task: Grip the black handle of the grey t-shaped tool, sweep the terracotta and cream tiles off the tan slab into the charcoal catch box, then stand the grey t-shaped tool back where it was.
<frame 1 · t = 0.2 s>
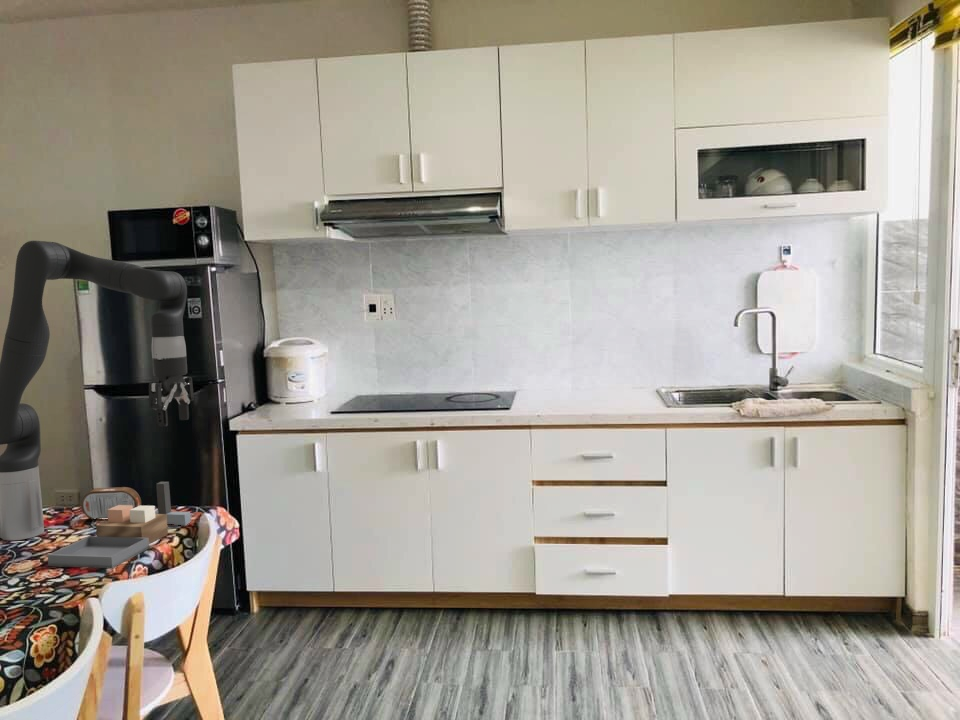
hand: (173, 422, 178), 28 cm above the table, tool pointing down, fingers open, 8 cm apart
grey t-shaped tool: (165, 524, 194), on the table
tin: (112, 519, 201), on the table
tan slab: (133, 539, 181), on the table
tile b: (143, 520, 180), point 5 cm above the table, touching tan slab
catch box: (100, 556, 170), on the table
tile a: (121, 519, 182), point 5 cm above the table, touching tan slab
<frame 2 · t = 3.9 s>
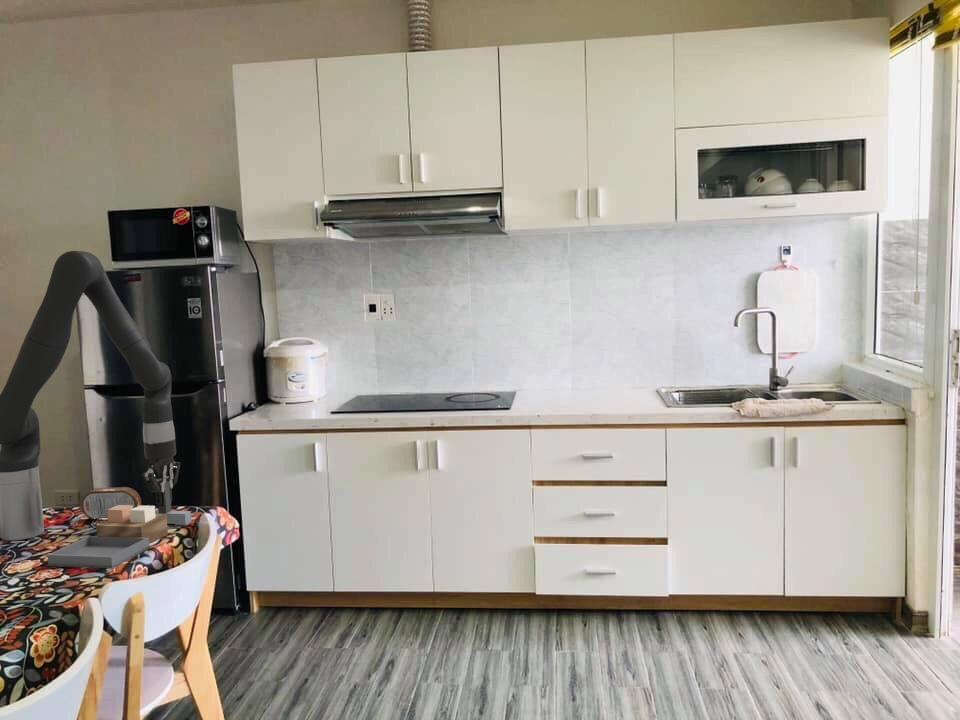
hand: (164, 504, 194), 5 cm above the table, tool pointing down, fingers closed on grey t-shaped tool, 2 cm apart
grey t-shaped tool: (165, 523, 194), on the table, touching gripper
everything else where it was.
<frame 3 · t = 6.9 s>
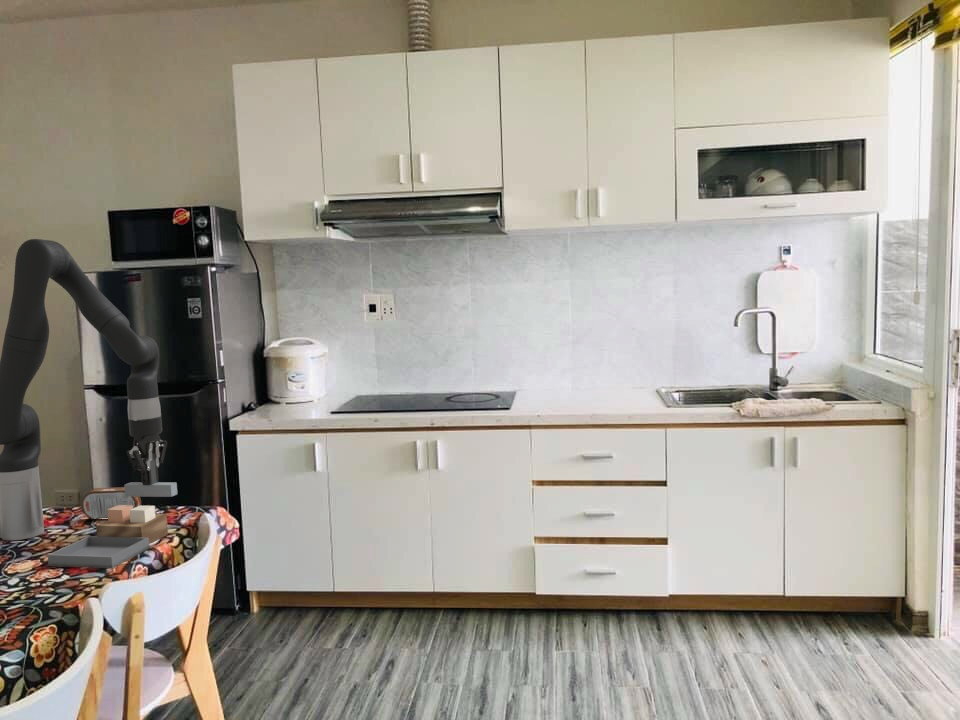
hand: (150, 483, 188), 12 cm above the table, tool pointing down, fingers closed on grey t-shaped tool
grey t-shaped tool: (151, 495, 189), point 9 cm above the table, touching gripper
everything else where it was.
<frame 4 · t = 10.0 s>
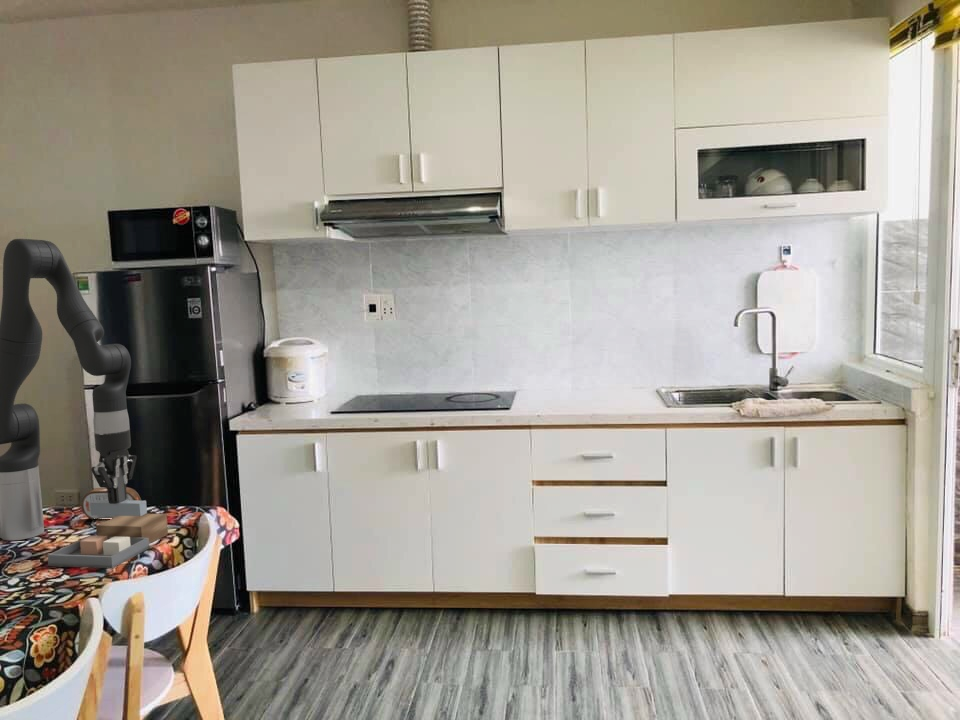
hand: (117, 501, 176), 11 cm above the table, tool pointing down, fingers closed on grey t-shaped tool
grey t-shaped tool: (119, 514, 176), point 8 cm above the table, touching gripper
tile b: (116, 539, 171), point 4 cm above the table, tilted 180°, touching catch box
tile a: (93, 538, 172), point 4 cm above the table, tilted 180°, touching catch box
everything else where it was.
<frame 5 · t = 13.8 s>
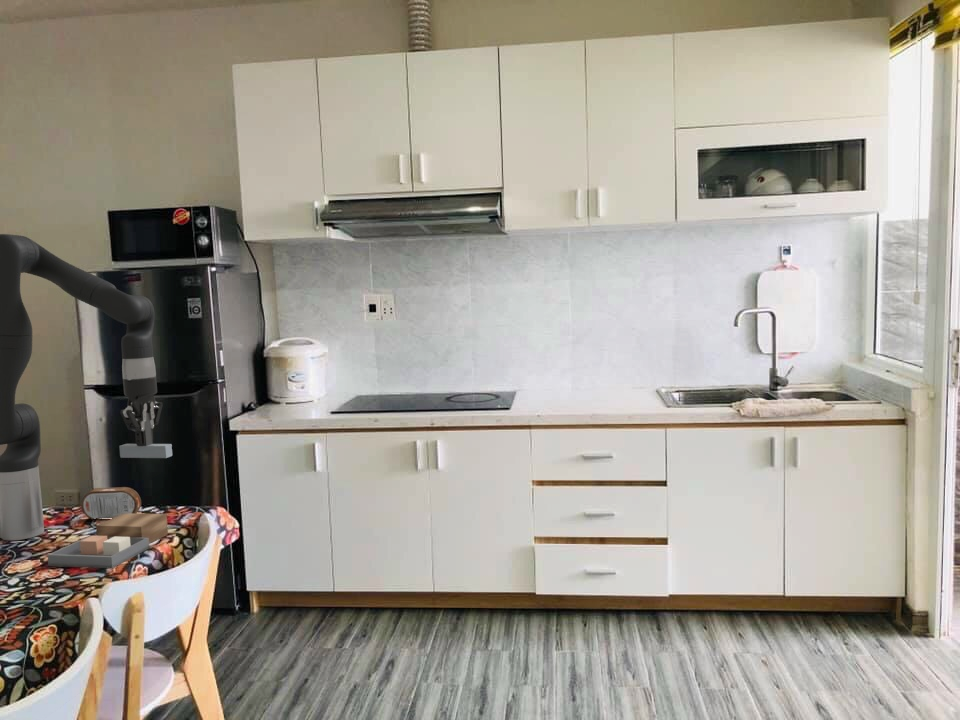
hand: (145, 444, 186), 22 cm above the table, tool pointing down, fingers closed on grey t-shaped tool
grey t-shaped tool: (146, 456, 186), point 19 cm above the table, touching gripper
everything else where it was.
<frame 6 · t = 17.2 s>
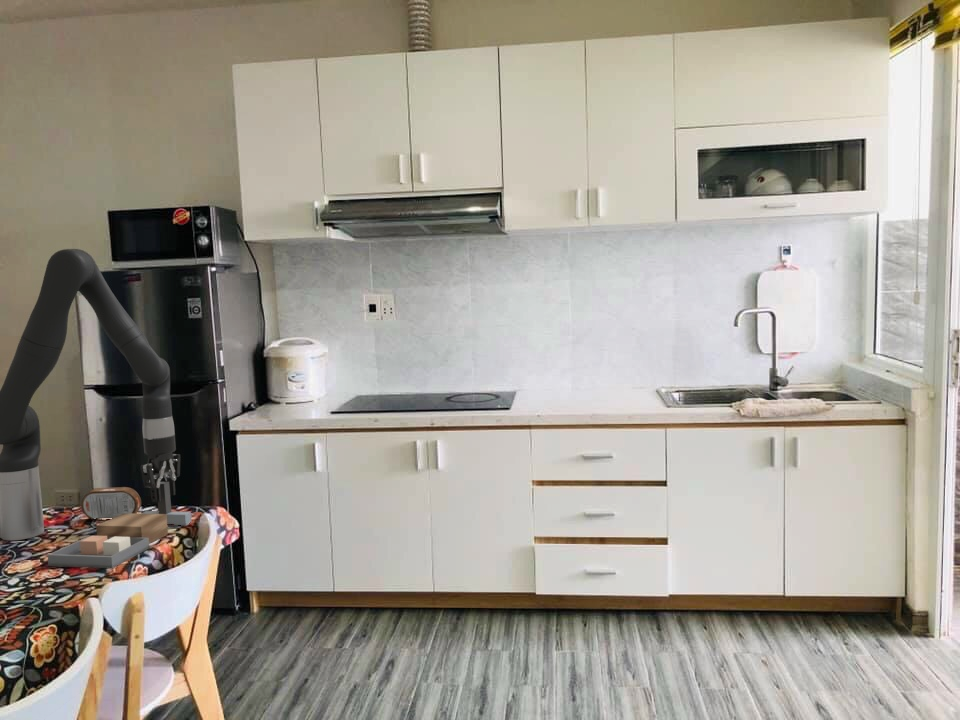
hand: (163, 498, 194), 7 cm above the table, tool pointing down, fingers open, 5 cm apart
grey t-shaped tool: (165, 524, 194), on the table
everything else where it was.
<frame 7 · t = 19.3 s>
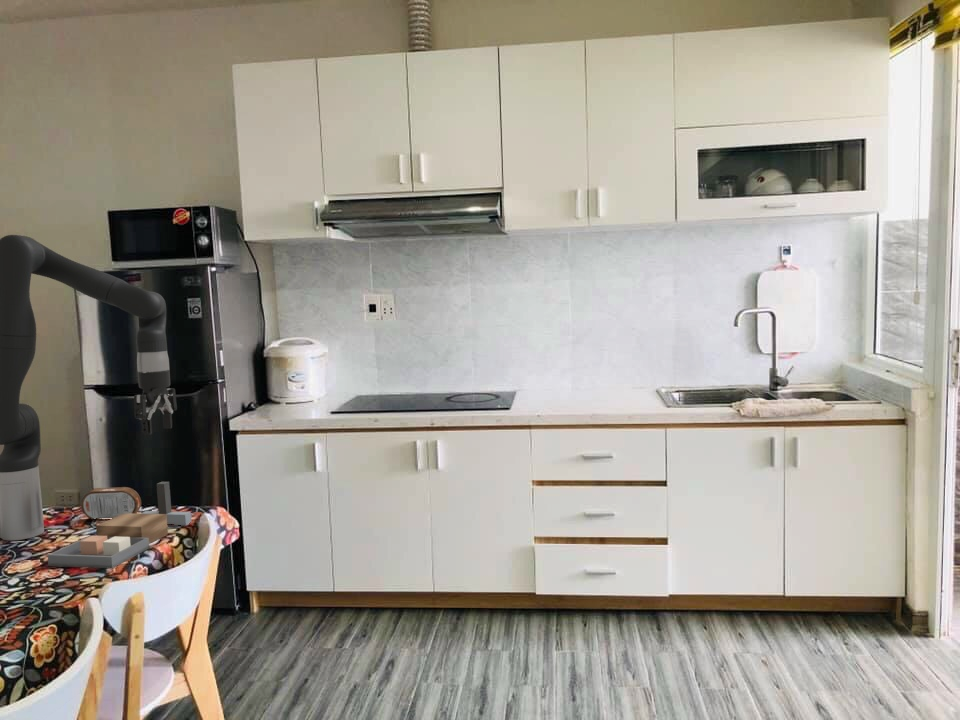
hand: (157, 431, 193), 24 cm above the table, tool pointing down, fingers open, 8 cm apart
nothing on the table moved.
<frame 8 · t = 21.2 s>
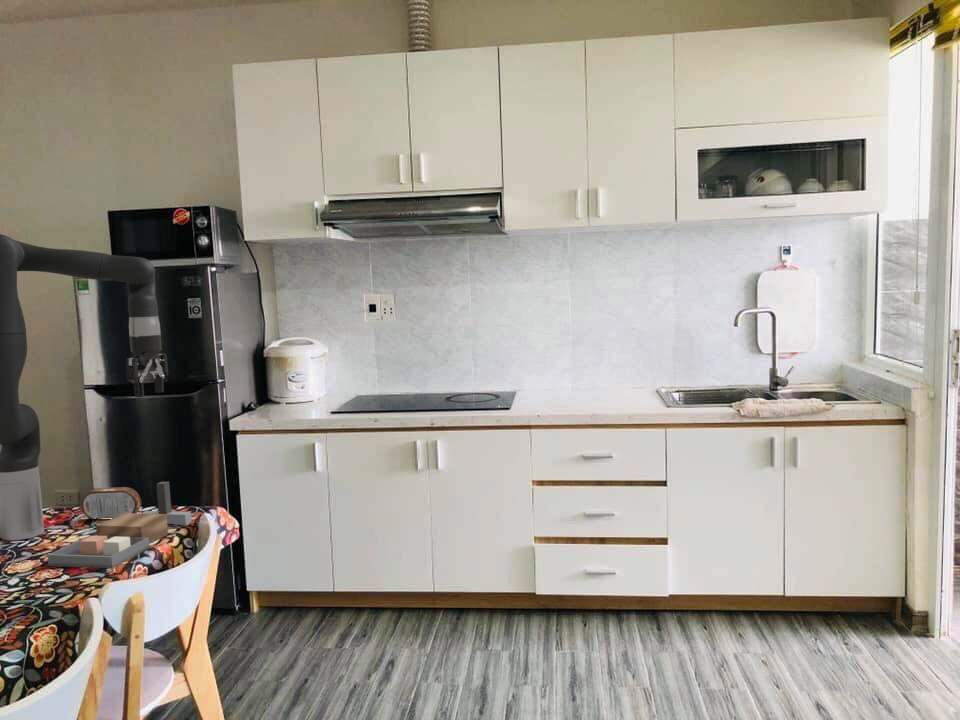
hand: (149, 394, 198), 33 cm above the table, tool pointing down, fingers open, 8 cm apart
nothing on the table moved.
at the end: tile a inside the target area on the catch box (3.3 cm from its centre), point 3.6 cm above the catch box's base; tile b inside the target area on the catch box (3.6 cm from its centre), point 3.6 cm above the catch box's base; grey t-shaped tool tilted 0° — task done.
